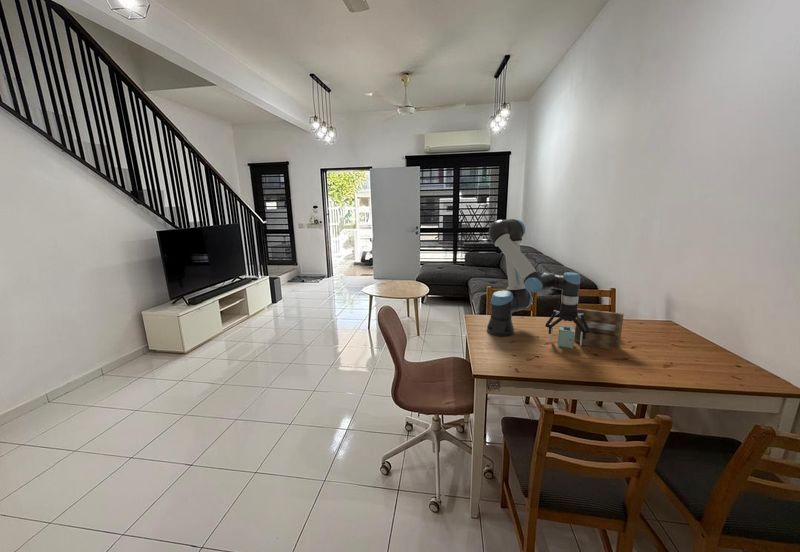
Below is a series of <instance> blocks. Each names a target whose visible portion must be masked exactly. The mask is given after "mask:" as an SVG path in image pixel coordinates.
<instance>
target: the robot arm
mask: <svg viewBox="0 0 800 552" xmlns="http://www.w3.org/2000/svg"><path fill="white" fill-rule="evenodd" d="M525 233H526V226H525V224H524V222H522V221H521V220H519V219H516V218H515V219H514V218H508V219H498V220H497V219H496V220H495V221H493V222H492V223H491V224H490V226H489V229H488V236H489V239H490V241H491V242H492V244H493V245H494V246H495V247H496V248H497V247H498V248H499V250H500V251H501V252H502V254H503V255H504V256H505V264H506V273H507V283H508V284H507V285H508V286H507V287H506V290H497V291H495V292H493V293H492V295H491V299H490V318H489V321H488V323H487V325H486V331H488V332H489V334H490V333H491V334H490V335H492V334H494V335H493V336H496V335H497V336H498V337H509V335H510V336H512V334H513V335H514V334H515V327H514V324H513V320H512V315H513V313H515V312H519V311H524V310H526V309H528V308H529V307H531V305H532V302H533V295H532V293H539V292H542V291H546V290H551V289H555V290H560V291H561V298H560V299H561V300H560V301H561V302H560V310H556V309H554V310H553V313H552V315H551V316H550V317H549V318H548V320H547V321H546V323H545V325H544V326H545V328H548V334H549V335H550V339H549V341H550V342H552V341H553V335H554V333H553V332H554V327H555V326H556V325H557V324H559V323H560V322H562V321H565V322H567V321H568V322H573V323H574V324H575V326H576V325H577V326H578V328H579V329H580V330H581V331H582V332H581V336H580V342H579V346H583V345H582V339H585V334H586V333H590V330H589V328H588V325H587V323H586V321H585V319H584V314H583V313H581V314H577V308H578V306H579V305H578V304H579V294H580V293H579V292H580V285H581V274H579V273H578V272H571V271H570V272H569V271H568V272H564V273H563V275H562V274H556V273H552V272H543V273H542V274H540V273H539V271H537V270H536V268H535V267H534V266H533V265H532V263H531V262H530V261H529V259H527V258H526V256H525V255H524V254H523V253H522V251H521V243H522V242H523V237H524V234H525ZM558 315H559V316H558ZM556 316H558V318H557V319H555V320H554V318H555V317H556ZM577 316H579V318H581V320H582V322H583V324H584V327H585V329H586V330H585V329H584V328H583V327H582V326H581V325H580V323H579V322H578V321H577V319H576V318H577ZM553 320H554V321H553ZM552 321H553V322H552ZM488 332H487V333H488Z"/></svg>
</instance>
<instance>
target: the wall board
mask: <svg viewBox="0 0 800 552" xmlns="http://www.w3.org/2000/svg"><path fill="white" fill-rule="evenodd" d="M581 313H583V314H584V319H585V321H586V323H587V325H588V328H589V330H590V333H586V334H585V339H582V345H581V346H588V347H594V348H601V349H605V350H606V349H607V350H612V351H613V349H614V348H615V349H620V345H621V337H622V329H623V323H624V313H621V312H615V311H613V312H612V311H606V310H605V311H604V310H595V309H587V308H581V307H580V308H578V307H577V314H581ZM576 319H577V321H578V322H579V323H580V325H581V326H582V327H583V328H584V329H585V327H584V324H583V322H582V320H581V318H579V316H577V317H576ZM574 329H575V332H574V342H575V343H580V336H581V332H582V331H581V330H580V329H579V328H578V326H577V325H576V324H575V327H574ZM585 330H586V329H585Z"/></svg>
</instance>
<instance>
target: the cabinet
mask: <svg viewBox="0 0 800 552" xmlns="http://www.w3.org/2000/svg"><path fill="white" fill-rule="evenodd" d="M574 336H575V326H573V325H568V324H567V325H565V324H560V326H559V328H558V336H557V337H558V339H557V346H558V347H561V348H566V349H567V348H568V349H572V350H573V349H574V342H575V341H574Z"/></svg>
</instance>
